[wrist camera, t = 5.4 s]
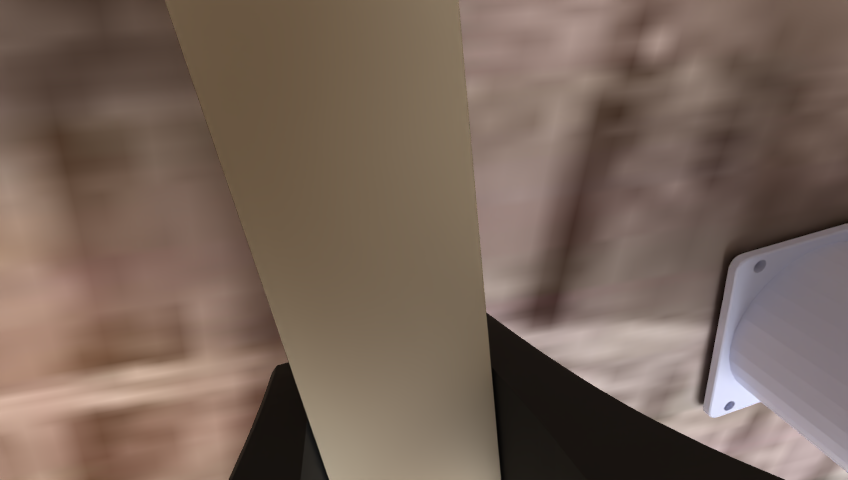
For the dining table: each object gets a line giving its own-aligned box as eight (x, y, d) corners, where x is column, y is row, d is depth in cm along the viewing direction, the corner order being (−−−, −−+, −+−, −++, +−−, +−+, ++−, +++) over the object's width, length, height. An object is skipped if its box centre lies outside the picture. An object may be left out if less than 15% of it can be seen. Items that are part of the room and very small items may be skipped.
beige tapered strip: (356, -149, 7) (432, -302, 4) (461, 517, 14) (518, 680, 11) (178, -132, 7) (67, -284, 3) (380, 546, 14) (413, 724, 11)
